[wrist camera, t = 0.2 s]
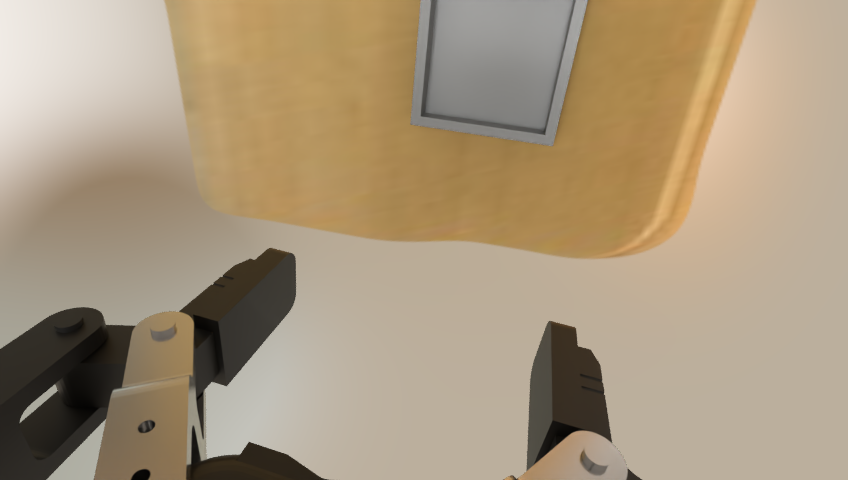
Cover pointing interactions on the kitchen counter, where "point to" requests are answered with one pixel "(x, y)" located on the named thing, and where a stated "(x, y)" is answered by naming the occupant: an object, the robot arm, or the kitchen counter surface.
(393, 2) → the kitchen counter surface
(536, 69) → the tray
